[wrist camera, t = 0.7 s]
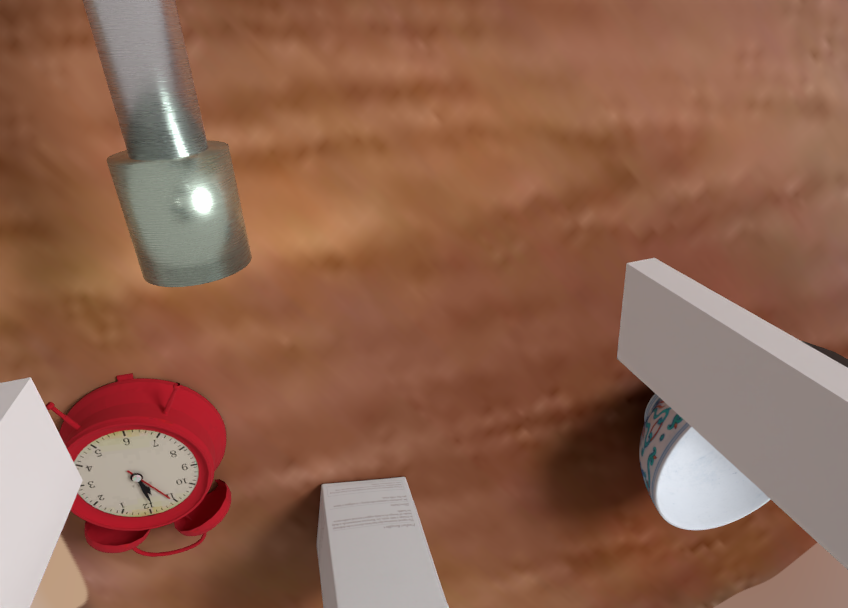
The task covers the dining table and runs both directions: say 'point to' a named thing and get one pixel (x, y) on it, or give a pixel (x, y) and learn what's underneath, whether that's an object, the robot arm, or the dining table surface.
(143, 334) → the dining table surface
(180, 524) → the alarm clock
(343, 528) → the supplement box
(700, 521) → the chinaware
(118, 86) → the shaft
